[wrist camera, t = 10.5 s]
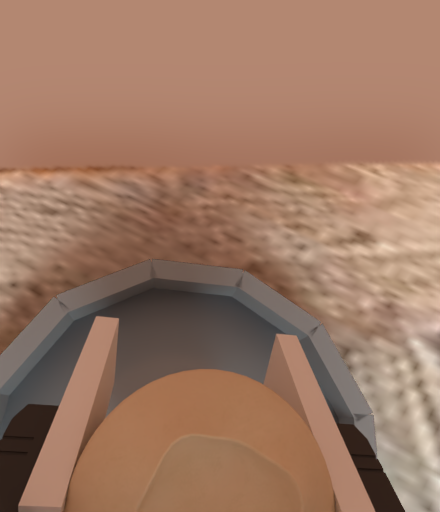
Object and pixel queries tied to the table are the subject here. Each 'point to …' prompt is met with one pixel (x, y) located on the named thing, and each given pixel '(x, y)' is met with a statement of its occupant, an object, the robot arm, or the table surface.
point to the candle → (202, 451)
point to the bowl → (172, 337)
